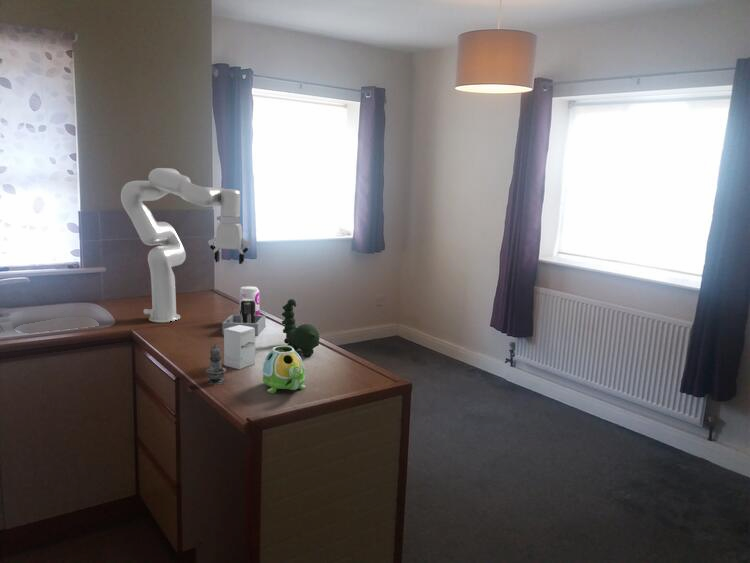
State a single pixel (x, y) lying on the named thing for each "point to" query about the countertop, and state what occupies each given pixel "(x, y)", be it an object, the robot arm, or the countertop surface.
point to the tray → (236, 320)
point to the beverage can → (248, 310)
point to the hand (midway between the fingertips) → (229, 262)
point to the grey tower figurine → (215, 367)
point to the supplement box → (239, 346)
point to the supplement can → (250, 296)
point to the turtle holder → (283, 369)
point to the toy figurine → (299, 332)
